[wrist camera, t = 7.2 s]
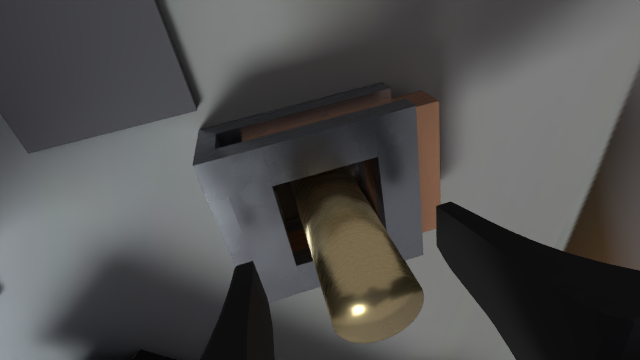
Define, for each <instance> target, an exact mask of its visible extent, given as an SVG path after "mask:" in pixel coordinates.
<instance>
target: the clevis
mask: <svg viewBox="0 0 640 360" xmlns="http://www.w3.org/2000/svg"><path fill="white" fill-rule="evenodd" d="M354 163H358V166H359V172H360V179H361V186H362V192H363V194H364V195H365V197H366V199H367V200H368V202H369V204H370V205H371V207H372V208H373V210H374V212H375V213H376V215H377V217H378V218H379V220H380V221H381V223H382V225H383V226H384V228H385V229H386V231H387V233H388V234H389V236H390V238H391V239H392V241H393V242H394V244H395V246H396V247H397V249H398V251H399V252H400V254H401V255H402V257H403V259H404V260H408V259H411V258H414V257H417V256H421V255H423V241H422V233H423V232H426V231H429V230H433V229H436V206H438V205H440V127H439V101H438V100H437V99H435V98H433V97H432V96H430V95H428V94H427V93H425V92H423V91H419V92H415V93H411V94H407V95H404V96H400V97H396V98H392V99H391V88H390V87H388V86H387V85H385V84H384V83H383V82H382V83H379V84H375V85H371V86H367V87H363V88H359V89H355V90H352V91H348V92H344V93H340V94H336V95H332V96H328V97H325V98H321V99H317V100H313V101H309V102H305V103H301V104H298V105H294V106H290V107H286V108H282V109H278V110H274V111H270V112H267V113H263V114H259V115H255V116H251V117H247V118H243V119H240V120H236V121H232V122H228V123H224V124H220V125H216V126H213V127H209V128H205V129H201V130H199V132H198V138H197V144H196V149H195V155H194V160H193V168H194V171H195V173H196V175H197V178H198V180H199V182H200V185H201V187H202V189H203V192H204V194H205V196H206V198H207V201H208V203H209V205H210V208H211V210H212V212H213V215H214V217H215V219H216V222H217V224H218V226H219V229H220V231H221V233H222V236H223V238H224V240H225V243H226V245H227V247H228V250H229V252H230V254H231V257H232V259H233V261H234V264H235V266H237V265H240V264H244V263H247V262H250V261H253V262H254V265H255V267H256V270H257V272H258V275H259V277H260V280H261V283H262V285H263V288H264V290H265V293H266V295H267V298H268V303H269V302H272V301H275V300H278V299H282V298H285V297H288V296H291V295H295V294H298V293H301V292H304V291H307V290H311V289H314V288H317V287H320V286H321V285H320V281H319V278H318V275H317V271H316V268H315V265H314V261H313V258H312V255H311V251H310V248H309V245H308V241H307V238H306V235H305V231H304V228H303V225H302V221H301V218H300V217H299V218H295V219H292V220H288V221H285V217H284V214H283V211H282V207H281V204H280V201H279V197H278V194H277V191H276V187H275V185H279V184H282V183H286V182H289V181H293V180H297V179H300V178H304V177H307V176H311V175H315V174H318V173H322V172H325V171H329V170H332V169H336V168H340V167H343V166H347V165H350V164H354Z"/></svg>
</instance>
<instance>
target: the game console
mask: <svg viewBox="0 0 640 360" xmlns="http://www.w3.org/2000/svg"><path fill="white" fill-rule="evenodd" d="M132 360H176V359H172V358H169V357H165V356H162V355H158V354H155V353H151V352H148V351H144V350H140V351H139V352H138V353H137V354H136V356H135V357H134V358H133V359H132Z"/></svg>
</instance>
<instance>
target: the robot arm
mask: <svg viewBox="0 0 640 360" xmlns="http://www.w3.org/2000/svg"><path fill="white" fill-rule="evenodd" d="M436 233H437V247H438V249H439V250H440V252H441V254H442V256H443V257H444V259H445V261H446V262H447V264H448V265H449V267H450V268H451V270H452V271H453V272H454V274H455V275H456V276H457V277H458V279H459V280H460V281H461V283H462V284H463V285H464V286H465V288H466V289H467V290H468V291H469V293H470V294H471V295H472V297H473V298H474V299H475V300H476V302H477V303H478V304H479V305H480V307H481V308H482V309H483V310H484V312H485V313H486V314H487V316H488V317H489V318H490V320H491V321H492V322H493V324H494V325H495V327H496V328H497V330H498V332H499V333H500V335H501V336H502V338H503V339H504V341H505V342H506V344H507V346H508V347H509V349H510V350H511V352H512V354H513V355H514V357H515V359H516V360H640V271H639V270H634V269H629V268H625V267H620V266H616V265H611V264H607V263H603V262H599V261H595V260H591V259H588V258H584V257H580V256H577V255H573V254H570V253H567V252H564V251H561V250H558V249H555V248H552V247H549V246H546V245H544V244H541V243H538V242H536V241H533V240H530V239H528V238H526V237H523V236H521V235H519V234H516V233H514V232H512V231H509V230H507V229H505V228H503V227H501V226H499V225H497V224H494V223H492V222H490V221H488V220H486V219H484V218H482V217H480V216H478V215H476V214H474V213H472V212H471V211H469V210H467V209H465V208H463V207H461V206H459V205H457V204H455V203H453V202H448V203H444V204H441V205H438V206H436ZM200 360H275V358H274V343H273V328H272V320H271V314H270V309H269V303H268V298H267V295H266V293H265V290H264V288H263V285H262V283H261V280H260V277H259V275H258V272H257V270H256V267H255V265H254V262H253V261H250V262H247V263H244V264H240V265H237V266H236V267H235V269H234V273H233V277H232V281H231V284H230V288H229V291H228V294H227V297H226V300H225V303H224V305H223V308H222V311H221V314H220V316H219V319H218V321H217V324H216V326H215V328H214V331H213V333H212V336H211V338H210V340H209V342H208V344H207V346H206V349H205V351H204V353H203V355H202V357H201V359H200Z"/></svg>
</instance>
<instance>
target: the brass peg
mask: <svg viewBox="0 0 640 360" xmlns="http://www.w3.org/2000/svg"><path fill="white" fill-rule="evenodd" d="M290 185H291V188H292V191H293V195H294V198H295V201H296V205H297V208H298V211H299V215H300V218H301V221H302V225H303V228H304V231H305V235H306V238H307V241H308V245H309V248H310V251H311V255H312V258H313V261H314V265H315V268H316V271H317V275H318V278H319V281H320V285H321V288H322V291H323V295H324V298H325V301H326V305H327V308H328V312H329V315H330V318H331V322H332V325H333V328H334V330H335V331H336V333H337V334H338V335H339V336H340V337H342V338H343V339H345V340H347V341H350V342H355V343H372V342H377V341H381V340H384V339H387V338H389V337H391V336H394V335H395V334H397V333H399V332H401V331H402V330H403V329H405V328H406V327H407V326H409V325H410V324H411V323H412V322H413V321H414V319H415V318H416V317H417V315H418V314H419V312H420V310H421V308H422V305H423V301H424V294H423V290H422V288H421V286H420V285H419V283H418V281H417V280H416V278H415V276H414V275H413V273H412V272H411V270H410V268H409V267H408V265H407V263H406V262H405V260H404V259H403V257H402V255H401V254H400V252H399V251H398V249H397V247H396V246H395V244H394V242H393V241H392V239H391V238H390V236H389V234H388V233H387V231H386V229H385V228H384V226H383V225H382V223H381V221H380V220H379V218H378V217H377V215H376V213H375V212H374V210H373V208H372V207H371V205H370V204H369V202H368V200H367V199H366V197H365V195H364V194H363V192H362V191H361V189H360V187H359V186H358V184H357V183H356V181H355V179H354V178H353V176H352V174H351V173H350V171H349V170H348V168H347V166H343V167H340V168H336V169H332V170H329V171H325V172H322V173H318V174H315V175H311V176H307V177H304V178H300V179H297V180H293V181H290Z"/></svg>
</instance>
